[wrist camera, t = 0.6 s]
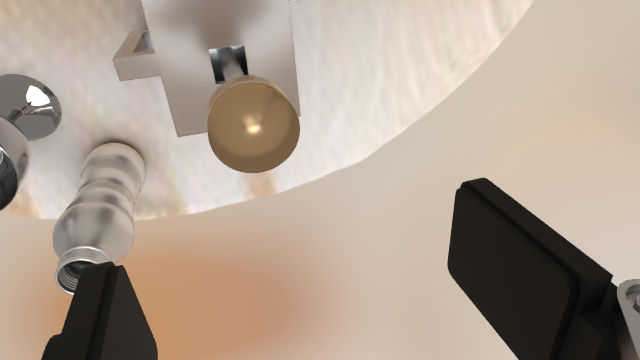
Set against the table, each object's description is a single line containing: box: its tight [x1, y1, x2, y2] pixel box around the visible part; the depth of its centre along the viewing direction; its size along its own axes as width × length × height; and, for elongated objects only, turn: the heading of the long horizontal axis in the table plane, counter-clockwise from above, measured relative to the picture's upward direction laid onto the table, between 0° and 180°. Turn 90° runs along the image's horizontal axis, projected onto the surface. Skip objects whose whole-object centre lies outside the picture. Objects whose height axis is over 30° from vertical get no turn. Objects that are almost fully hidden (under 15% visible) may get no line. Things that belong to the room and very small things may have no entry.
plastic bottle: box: [53, 143, 146, 295], centre depth 40 cm, size 6×7×20 cm
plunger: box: [206, 45, 300, 173], centre depth 26 cm, size 7×7×19 cm
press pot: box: [113, 0, 300, 137], centre depth 36 cm, size 12×9×19 cm
